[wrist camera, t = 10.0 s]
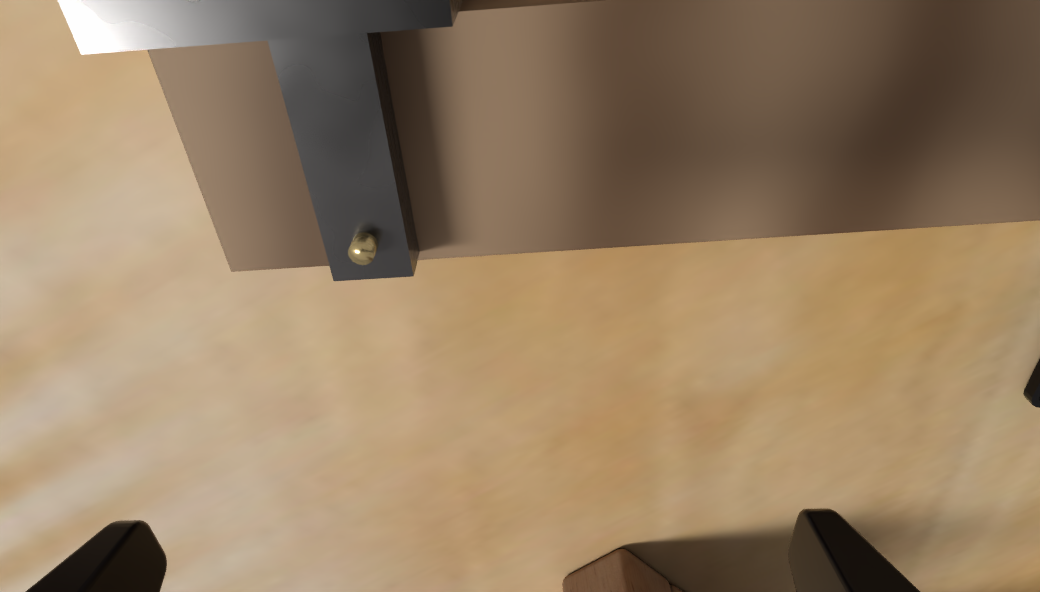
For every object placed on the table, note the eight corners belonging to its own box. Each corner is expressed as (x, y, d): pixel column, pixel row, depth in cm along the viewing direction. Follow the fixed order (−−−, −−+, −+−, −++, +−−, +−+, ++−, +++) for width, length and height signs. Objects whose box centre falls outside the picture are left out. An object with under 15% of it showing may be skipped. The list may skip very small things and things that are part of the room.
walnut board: (1117, -55, 15) (1195, -45, 13) (1021, 186, 18) (1073, 218, 16) (182, 18, 15) (141, 36, 14) (256, 235, 19) (231, 272, 17)
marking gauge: (461, -151, 14) (430, -162, 9) (497, 211, 18) (490, 338, 13) (187, -127, 14) (4, -125, 9) (293, 224, 19) (212, 354, 14)
